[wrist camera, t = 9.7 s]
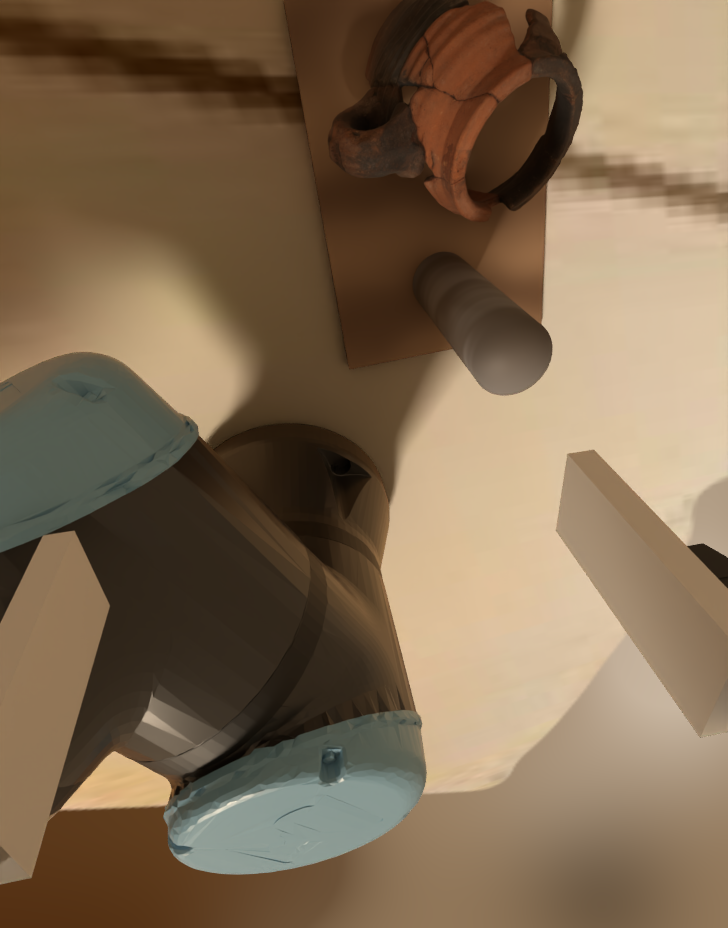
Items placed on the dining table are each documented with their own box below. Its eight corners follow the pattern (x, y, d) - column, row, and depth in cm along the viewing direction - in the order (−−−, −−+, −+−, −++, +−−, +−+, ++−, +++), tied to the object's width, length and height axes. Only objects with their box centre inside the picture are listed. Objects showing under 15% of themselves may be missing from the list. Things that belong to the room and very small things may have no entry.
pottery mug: (499, -68, 26) (624, -10, 22) (486, 132, 34) (576, 200, 31) (271, 29, 25) (364, 111, 21) (315, 215, 33) (387, 299, 29)
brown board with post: (537, 327, 38) (641, 417, 27) (348, 365, 37) (381, 471, 27) (548, -47, 27) (726, -134, 17) (283, -1, 26) (295, -61, 16)
